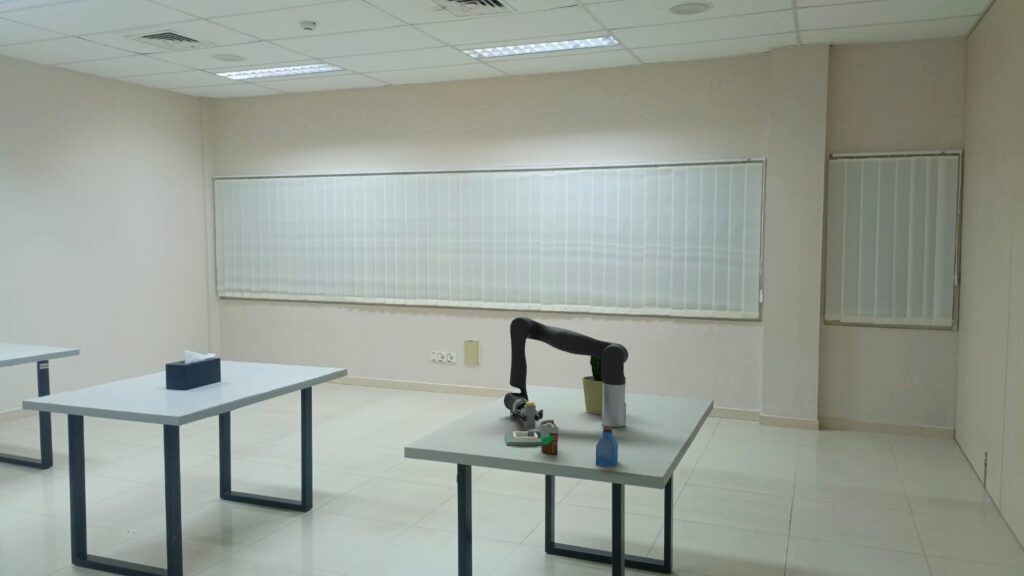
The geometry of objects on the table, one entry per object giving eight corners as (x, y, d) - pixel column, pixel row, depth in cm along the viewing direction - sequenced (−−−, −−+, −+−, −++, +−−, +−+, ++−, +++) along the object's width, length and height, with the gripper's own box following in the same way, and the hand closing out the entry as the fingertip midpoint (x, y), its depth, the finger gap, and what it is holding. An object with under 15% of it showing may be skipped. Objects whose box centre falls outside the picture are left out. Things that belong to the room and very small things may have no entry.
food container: (536, 446, 267) (536, 419, 266) (553, 446, 267) (553, 419, 267) (540, 456, 254) (540, 427, 254) (558, 456, 255) (558, 427, 255)
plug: (534, 432, 288) (535, 401, 287) (535, 435, 284) (536, 403, 283) (523, 432, 288) (523, 401, 287) (524, 435, 283) (525, 403, 283)
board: (541, 436, 281) (541, 428, 281) (545, 445, 269) (545, 436, 268) (504, 437, 280) (504, 428, 280) (507, 445, 268) (507, 436, 267)
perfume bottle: (617, 461, 249) (618, 426, 249) (614, 466, 244) (614, 430, 243) (599, 459, 251) (600, 424, 251) (595, 464, 246) (596, 429, 245)
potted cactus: (580, 414, 321) (581, 346, 319) (582, 407, 336) (583, 341, 334) (616, 416, 318) (617, 347, 317) (616, 408, 334) (618, 343, 332)
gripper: (506, 400, 298) (513, 409, 281) (540, 399, 300) (549, 408, 283) (505, 418, 298) (512, 428, 281) (540, 417, 301) (549, 427, 284)
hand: (531, 418), depth 283 cm, fingers closed on plug, 4 cm apart
